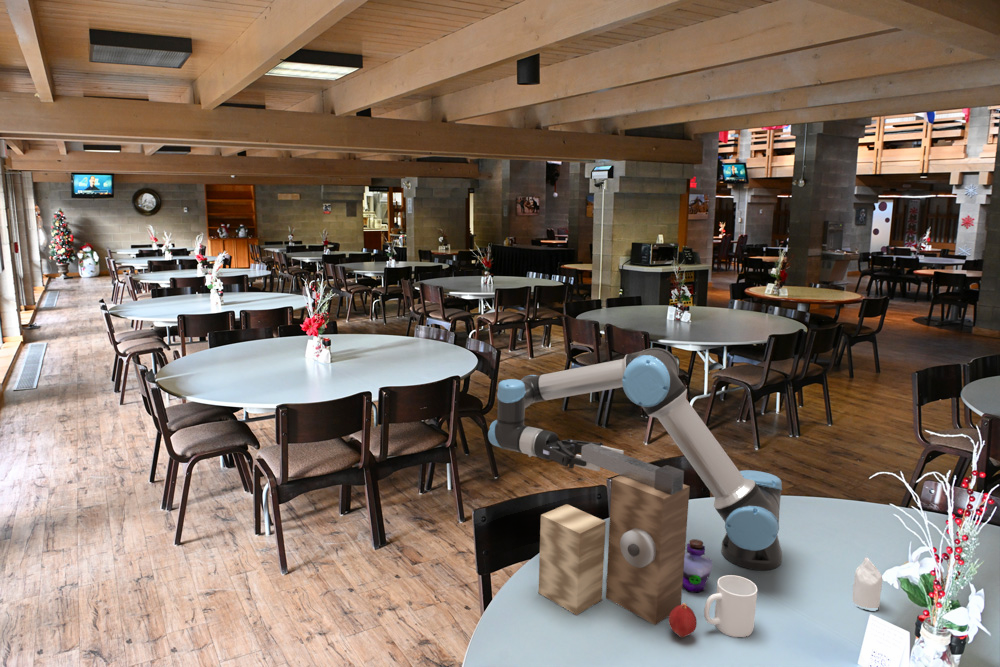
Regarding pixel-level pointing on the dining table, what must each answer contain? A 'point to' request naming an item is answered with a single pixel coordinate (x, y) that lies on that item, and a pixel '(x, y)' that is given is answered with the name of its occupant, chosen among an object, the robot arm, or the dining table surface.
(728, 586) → the cup
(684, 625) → the onion
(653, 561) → the post
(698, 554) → the potion bottle
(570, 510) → the oak block
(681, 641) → the dining table surface
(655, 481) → the grey long bar
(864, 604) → the beige pointed piece
